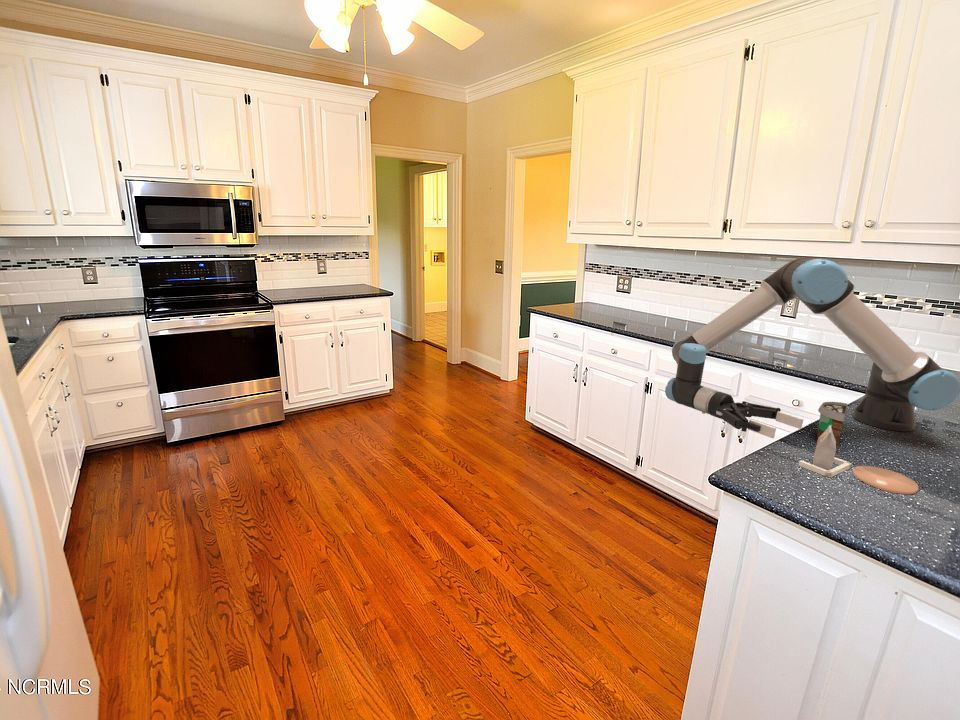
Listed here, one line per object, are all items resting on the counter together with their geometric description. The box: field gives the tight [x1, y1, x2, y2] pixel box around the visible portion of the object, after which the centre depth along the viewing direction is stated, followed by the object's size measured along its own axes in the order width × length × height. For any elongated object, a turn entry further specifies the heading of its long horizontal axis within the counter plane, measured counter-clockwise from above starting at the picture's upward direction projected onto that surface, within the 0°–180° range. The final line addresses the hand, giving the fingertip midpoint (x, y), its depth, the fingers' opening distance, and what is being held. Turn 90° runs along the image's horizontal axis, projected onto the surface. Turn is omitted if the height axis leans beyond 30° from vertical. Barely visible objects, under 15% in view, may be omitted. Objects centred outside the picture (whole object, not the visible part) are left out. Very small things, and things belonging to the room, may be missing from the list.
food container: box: [816, 401, 848, 448], centre depth 136 cm, size 12×6×10 cm, turn 141°
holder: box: [797, 457, 853, 479], centre depth 120 cm, size 11×7×1 cm, turn 121°
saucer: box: [852, 465, 919, 495], centre depth 114 cm, size 12×12×1 cm
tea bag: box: [812, 425, 837, 470], centre depth 119 cm, size 4×7×10 cm, turn 144°
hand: (788, 428), depth 126 cm, fingers open, 13 cm apart
